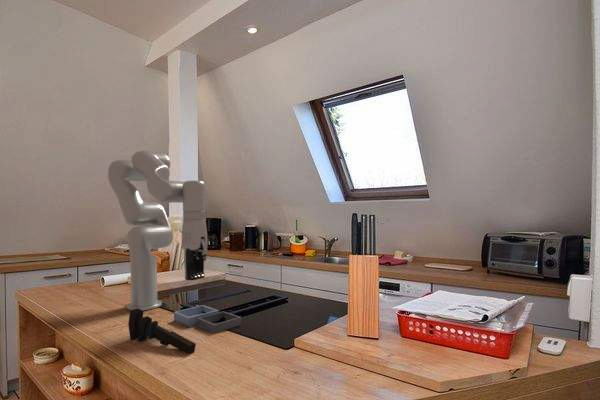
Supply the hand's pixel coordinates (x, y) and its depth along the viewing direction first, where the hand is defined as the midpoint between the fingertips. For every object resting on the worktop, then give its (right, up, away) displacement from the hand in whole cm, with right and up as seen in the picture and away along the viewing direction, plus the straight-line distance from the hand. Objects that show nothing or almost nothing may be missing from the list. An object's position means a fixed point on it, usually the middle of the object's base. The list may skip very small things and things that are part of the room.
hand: (195, 269), depth 126 cm
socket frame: (+10, -17, -6) cm, 20 cm away
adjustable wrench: (-3, -17, -22) cm, 29 cm away
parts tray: (0, -17, 0) cm, 17 cm away
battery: (0, -3, 0) cm, 3 cm away
